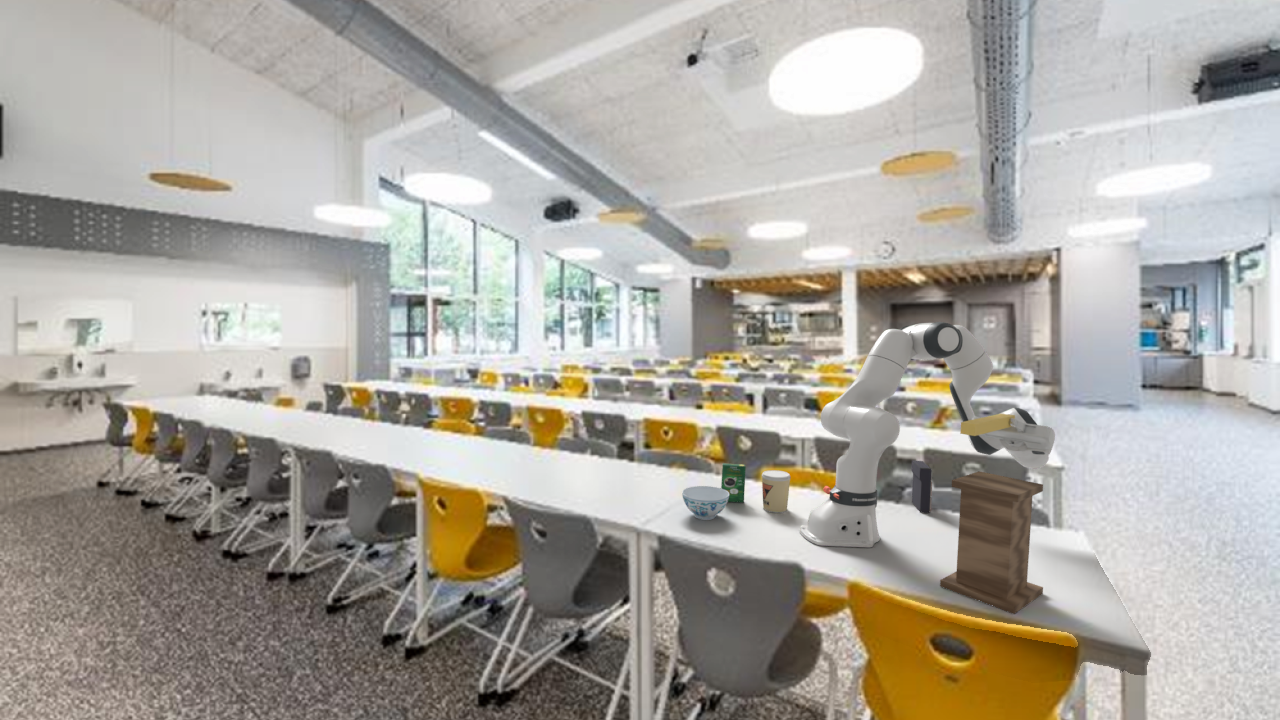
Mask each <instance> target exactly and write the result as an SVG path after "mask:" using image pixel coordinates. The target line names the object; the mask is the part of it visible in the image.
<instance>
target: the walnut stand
mask: <svg viewBox="0 0 1280 720" xmlns="http://www.w3.org/2000/svg"><path fill="white" fill-rule="evenodd" d="M951 487H952V488H955V489H958V490H960V500H959V501H960V502H959V503H960V504H959V519H958V520H959V522H958V536H957V538H958V539H957V554H956V555H957V557H956V571H954V572H952V573H950V574H948V575H947V576H945V577H942V578H941V579H940V581H939V582H940V583H939V586H941V588H943V587H944V589H946V588H947V589H946V590H948V589H949V591H951V590H952V591H951V592H954V593H956V592H957V594H959V593H960V595H962V596H964V595H965V597H968V598H969V599H972V598H973V600H975V599H976V601H978V600H980V601H982V602H981V603H983V602H984V603H983V604H986V603H987V604H986V605H989V604H990V605H989V606H991V605H993V606H992V607H994V606H995V607H994V608H996V609H999V608H1000V610H1002V611H1004V612H1007V611H1008V613H1010V614H1013V615H1015V614H1017V613H1018V612H1019V611H1021V610H1022V609H1023V608H1025V607H1026V606H1028V605H1029V604H1031V603H1032V602H1033V601H1034V600H1036V599H1037V598H1039V597H1041V596H1042V595H1043V593H1044V587H1043V586H1040V585H1038V584H1035V583H1032V582H1028V575H1029V574H1028V573H1029V571H1028V570H1029V557H1030V555H1029V554H1030V544H1031V543H1030V541H1031V540H1030V539H1031V526H1032V525H1031V524H1032V510H1033V509H1032V508H1033V496H1035V495H1037V494H1040V493H1042V492H1043V491H1044V484H1041V483H1037V482H1033V481H1029V480H1022V479H1019V478H1014V477H1008V476H1003V475H999V474H994V473H990V472H985V471H981V470H979V471H975V472H972V473H969V474H966V475H964V476H960V477H957V478H954V479H952V480H951ZM980 601H979V602H980Z"/></svg>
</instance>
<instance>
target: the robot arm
mask: <svg viewBox="0 0 1280 720" xmlns="http://www.w3.org/2000/svg"><path fill="white" fill-rule="evenodd" d="M936 359H943V361H944V363H945V364H946V366H947V367H948V368H949V370H950V372H951V375H952V381H951V382H950V383H949V391H950V393H951V396H952V399H953V401H954V405H955V406H956V409H957V411H958V413H959V415H960V418H961V421H962V422H964V421H969V420H974V419H978V418H983V417H984V416H983V417H981V416H977V415H976V414H975V412H974V409H973V407H972V405H971V400H972V398H973V396H974V395H975V394H976V393H977V392H978V390H979V389H980V388H982V387H983V386H984V385H985V384H986V382H987V381H988V380H989V378H990V377H991V375H992V372H993V367H994V366H993V362H992V358H991V357H990V356H989V354H988V352H987V351H986V349H985V348H984V346H983V344H982V343H981V342H980V341H979V340H978V339H977V338H976V337H975V336H974V335H973V333H972V332H971V331H970V330H969V329H967V327H965V326H964V325H961V324H960V325H959V324H951V323H948V322H945V321H936V322H921V323H916V324H913V325H912V324H911V325H906V326H904V327H901V328H900V329H897V328H889V329H886V330H884V331H883V332H882V333H881V334H880V335H879V337H878V338H877V339H876V341H875V343H874V344H873V346H872V347H871V348H870V351H869V353H868V355H867V357H866V359H865V360H864V363H863V365H862V367H861V369H860V371H859V372H858V375H857V376H856V378H855V380H853V382H852V384H851V385H850V386H849V387H848V388H847V389H846V390H845V391H844V392H843V393H842V394H840V396H839V397H838V398H835V400H833V401H831V402H828V403H826V404H825V406H823V408H822V411H821V412H820V423H821V426H822V427H823V429H824V430H825V431H827V432H828V433H830V434H831V435H833V436H836V437H837V438H841V439H845V440H849V447H848V449H847V452H846V453H845V454H843V455H841V456H840V457H838V458H837V461H836V467H835V468H836V469H835V470H836V472H835V473H836V474H835V485H834V487H833V488H831V487H829V486H828V485H825V486H824V487H823V489H822V491H823V492H824V493H825V494H826V495H829V498H828V499H826V500H824V502H822V503H821V504H819V505H817V506H816V507H815V508H813V509H812V510H811V511H810V513H809V515H808V519H807V523H806V524H801V525H800V527H799V533H800V534H801V536H802V537H803V538H805V539H806V540H807V541H808V542H810V543H812V544H813V545H817V546H825V547H828V546H829V547H845V548H847V547H849V548H851V547H853V548H873V547H874V545H875V543H877V542H879V541H880V539H881V537H880V533H879V529H878V522H877V504H878V490H877V478H878V477H877V476H878V468H879V467H878V466H879V462H880V459H881V457H882V456H883V453H884V452H885V450H886V449H887V448H888V447H890V446H892V445H893V444H894V443H895V442H896V441H897V440H898V438H899V435H900V431H901V427H900V422H899V419H898V417H897V416H896V415H895V414H893V413H891V412H890V411H888V410H885V409H883V408H881V407H877V406H878V405H879V404H880V403H882V402H884V401H885V400H888V399H890V398H892V397H893V396H894V395H895V394H896V391H897V390H898V387H899V385H900V382H901V380H902V379H903V376H904V374H905V372H906V369H907V367H908V365H909V363H910V361H913V360H917V361H919V360H922V361H932V360H936ZM999 414H1009V415H1015V419H1013V418H1010V419H1009V420H1010V421H1009V425H1010V426H1012V427H1008V428H1005V429H1001V430H997V431H993V432H989V433H985V434H981V435H977V436H972V435H967V437H968V440H969V443H970V445H971V446H972V448H973V449H974V450H975V451H976V452H977V453H978V454H982V455H987V456H990V455H993V454H995V453H997V452H998V451H1000V450H1002V449H1005V450H1006V451H1007V453H1008V454H1010V456H1011V457H1012V459H1014V460H1015V461H1016V462H1017V463H1018V464H1019V465H1021V466H1023V467H1024V468H1025V469H1030V470H1037V469H1040V468H1041V469H1042V468H1043V467H1045V466H1046V465H1047V463H1048V461H1049V458H1050V457H1049V456H1050V455H1051V452H1052V450H1053V447H1054V443H1055V438H1056V433H1055V430H1054V429H1053V428H1052V427H1050V426H1047V425H1041V424H1038V423H1037V422H1036V421H1035V420H1034V418H1033V417H1032V415H1031V414H1030V413H1029V412H1028V411H1027V410H1025V409H1023V408H1019V407H1011V408H1010V409H1007V410H1005V411H1002V412H1000V413H999Z"/></svg>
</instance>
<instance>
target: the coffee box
mask: <svg viewBox="0 0 1280 720" xmlns="http://www.w3.org/2000/svg"><path fill="white" fill-rule="evenodd" d="M746 469H747V467H746V464H741V463H740V464H739V463H722V468H721V486H720V488H721V489H724V490H726V491H728V492H729V499H728V502H727V503H739V504H742V503H745V485H746Z"/></svg>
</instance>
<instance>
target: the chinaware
mask: <svg viewBox="0 0 1280 720" xmlns="http://www.w3.org/2000/svg"><path fill="white" fill-rule="evenodd" d="M681 495H682V499H683V502H684V505H685V506H686V508H687V509H688V510H689V511H690V512H691V513H693V514H694V517H695V518H697V519H698V520H703V521H704V520H705V521H709V520H715V518H716V517H717V515H718V514H720V513H721V512H723V510H724V509H725V507H726V506H727V504H728V503H729V502H728V499H729V492H728V491H726V490H724V489H721V487H717V486H712V485H711V486H709V485H697V486H696V485H695V486H689V487H686V488H684V489H683V490H682V491H681Z"/></svg>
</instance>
